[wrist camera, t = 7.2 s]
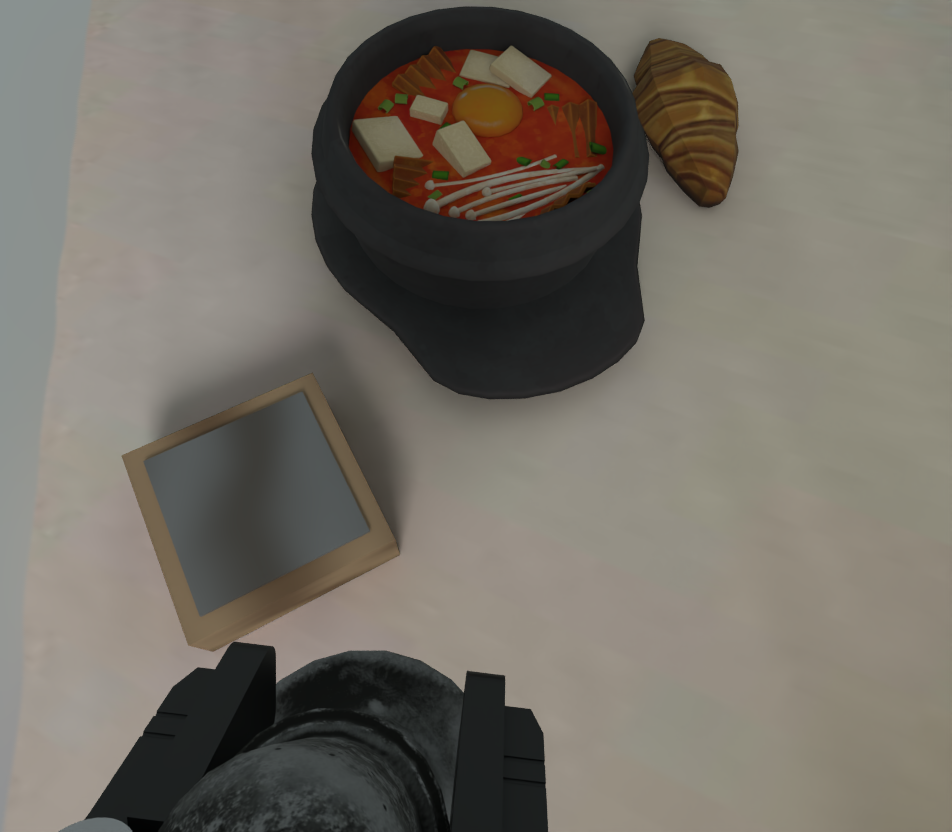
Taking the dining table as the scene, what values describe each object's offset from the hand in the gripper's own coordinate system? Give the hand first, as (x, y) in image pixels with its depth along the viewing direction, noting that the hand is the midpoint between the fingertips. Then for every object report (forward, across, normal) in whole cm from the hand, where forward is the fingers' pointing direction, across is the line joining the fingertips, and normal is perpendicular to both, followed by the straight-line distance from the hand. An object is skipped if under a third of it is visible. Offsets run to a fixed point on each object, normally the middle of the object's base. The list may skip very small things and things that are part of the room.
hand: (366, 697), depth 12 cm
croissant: (+38, -12, -12) cm, 42 cm away
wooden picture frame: (+17, +8, +7) cm, 20 cm away
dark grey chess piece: (+2, 0, +5) cm, 6 cm away
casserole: (+31, 0, -6) cm, 32 cm away
